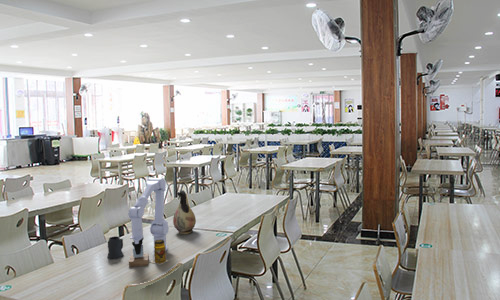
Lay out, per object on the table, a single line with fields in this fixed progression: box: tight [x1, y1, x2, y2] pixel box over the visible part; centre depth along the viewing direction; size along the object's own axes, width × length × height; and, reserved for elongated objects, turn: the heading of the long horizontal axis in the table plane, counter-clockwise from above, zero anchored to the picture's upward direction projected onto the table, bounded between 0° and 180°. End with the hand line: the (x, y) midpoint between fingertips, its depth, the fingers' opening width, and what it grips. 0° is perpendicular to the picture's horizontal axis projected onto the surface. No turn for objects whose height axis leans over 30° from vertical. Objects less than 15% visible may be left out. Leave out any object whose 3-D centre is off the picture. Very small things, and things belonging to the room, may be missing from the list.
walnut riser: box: [128, 253, 150, 268], centre depth 227 cm, size 10×10×3 cm
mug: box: [106, 236, 124, 260], centre depth 240 cm, size 12×9×11 cm
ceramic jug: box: [172, 189, 197, 235], centre depth 281 cm, size 17×15×30 cm
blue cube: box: [132, 244, 144, 258], centre depth 227 cm, size 5×5×5 cm
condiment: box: [150, 240, 170, 265], centre depth 228 cm, size 7×8×12 cm
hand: (138, 252), depth 227 cm, fingers closed on blue cube, 5 cm apart
